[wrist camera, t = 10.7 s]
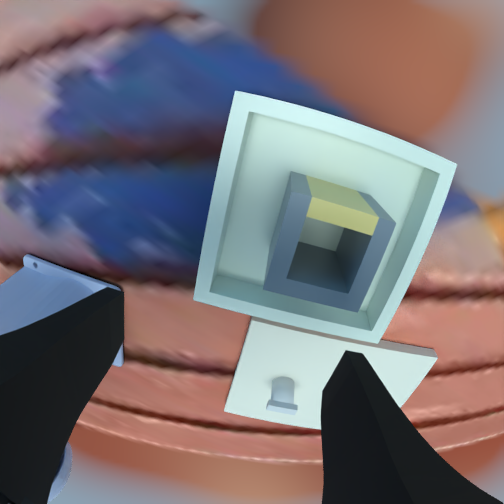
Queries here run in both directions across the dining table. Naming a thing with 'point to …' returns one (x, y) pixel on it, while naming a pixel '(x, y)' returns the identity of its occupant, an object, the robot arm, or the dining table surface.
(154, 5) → the dining table surface
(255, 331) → the base
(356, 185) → the tray
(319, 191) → the collar
